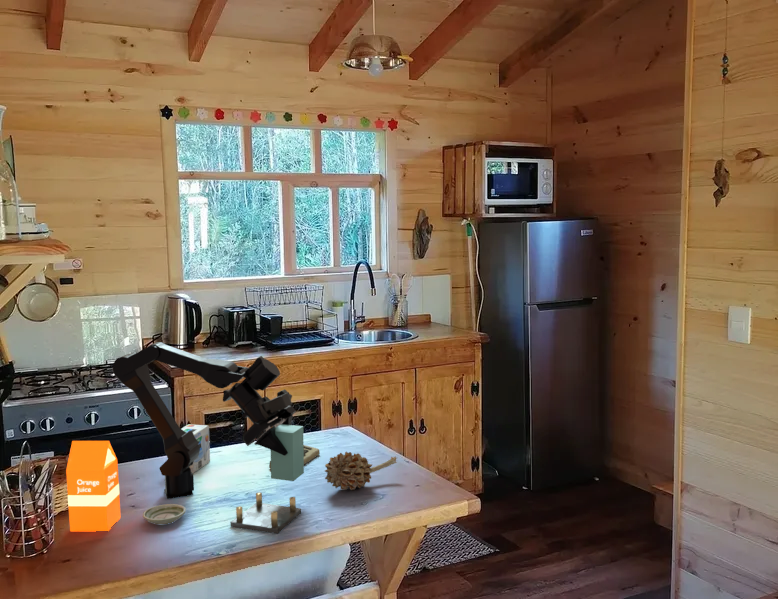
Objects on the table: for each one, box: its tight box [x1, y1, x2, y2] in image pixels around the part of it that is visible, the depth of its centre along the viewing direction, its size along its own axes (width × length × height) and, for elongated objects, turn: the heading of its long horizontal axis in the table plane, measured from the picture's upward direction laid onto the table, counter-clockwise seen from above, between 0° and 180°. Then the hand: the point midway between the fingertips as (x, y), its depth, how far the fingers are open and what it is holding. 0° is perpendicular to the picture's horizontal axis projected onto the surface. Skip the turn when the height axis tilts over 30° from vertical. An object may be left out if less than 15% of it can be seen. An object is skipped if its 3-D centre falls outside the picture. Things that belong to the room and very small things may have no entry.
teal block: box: [270, 424, 305, 482], centre depth 184 cm, size 6×6×12 cm
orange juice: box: [65, 440, 122, 533], centre depth 172 cm, size 8×9×20 cm
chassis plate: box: [230, 492, 302, 535], centre depth 174 cm, size 12×12×4 cm
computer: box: [268, 444, 320, 468], centre depth 215 cm, size 16×8×3 cm, turn 158°
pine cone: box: [324, 451, 398, 491], centre depth 195 cm, size 22×10×10 cm, turn 129°
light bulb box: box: [181, 424, 211, 474], centre depth 212 cm, size 11×7×11 cm, turn 168°
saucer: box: [142, 503, 187, 525], centre depth 175 cm, size 10×10×2 cm
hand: (292, 450), depth 184 cm, fingers closed on teal block, 6 cm apart
